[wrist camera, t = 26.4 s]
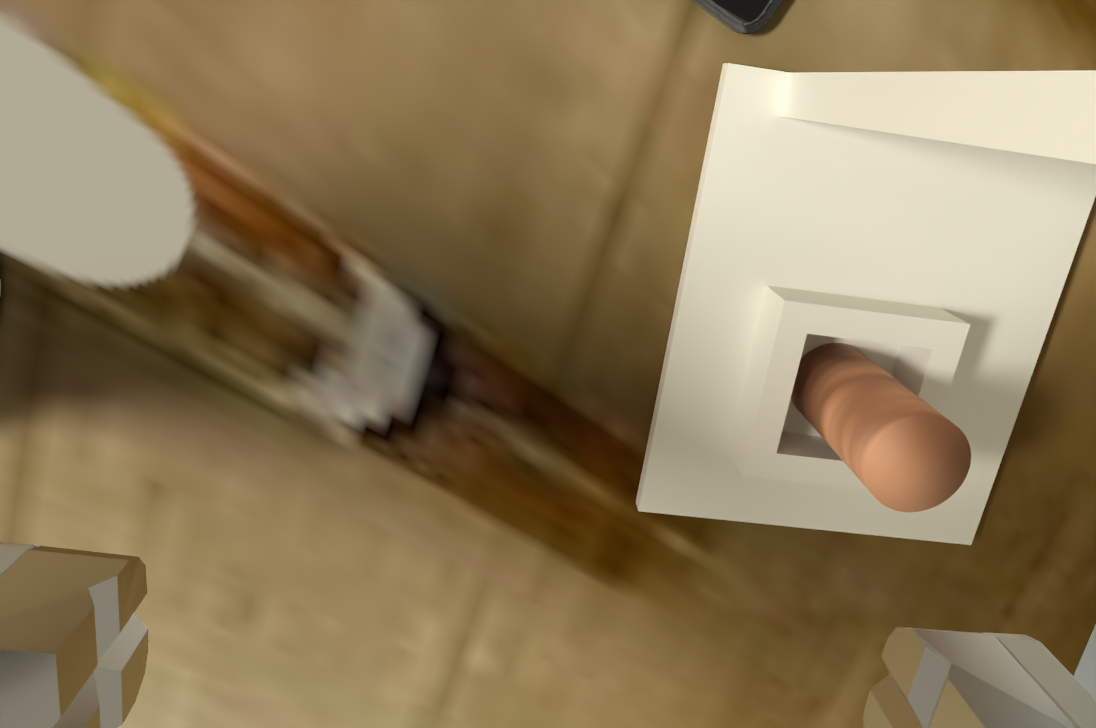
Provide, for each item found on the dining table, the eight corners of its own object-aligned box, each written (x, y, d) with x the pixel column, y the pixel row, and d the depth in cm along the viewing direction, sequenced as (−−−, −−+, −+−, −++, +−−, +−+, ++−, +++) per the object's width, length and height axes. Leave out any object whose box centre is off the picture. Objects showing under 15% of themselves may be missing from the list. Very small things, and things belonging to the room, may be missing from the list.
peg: (821, 436, 45) (904, 531, 36) (772, 380, 44) (845, 464, 35) (887, 383, 44) (991, 466, 35) (840, 325, 43) (933, 396, 34)
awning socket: (635, 502, 47) (831, 1140, 19) (723, 63, 39) (1275, 34, 11) (962, 536, 49) (1583, 1162, 21) (1107, 123, 41) (2413, 228, 13)
